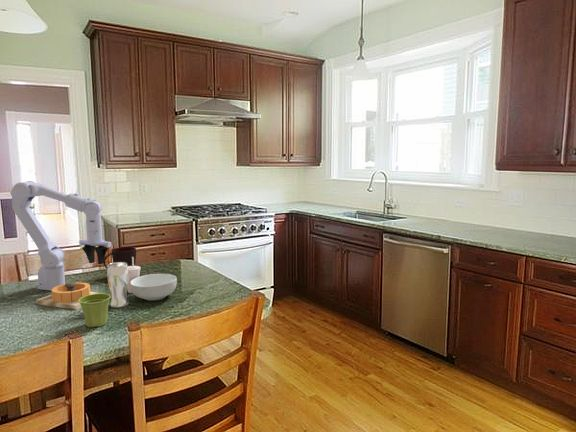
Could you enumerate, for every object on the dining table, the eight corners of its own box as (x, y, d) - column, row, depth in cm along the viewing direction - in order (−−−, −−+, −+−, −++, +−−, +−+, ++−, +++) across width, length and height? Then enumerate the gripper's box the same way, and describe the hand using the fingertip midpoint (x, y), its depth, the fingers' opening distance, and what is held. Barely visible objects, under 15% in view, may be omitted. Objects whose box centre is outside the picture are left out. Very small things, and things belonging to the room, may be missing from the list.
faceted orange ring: (44, 300, 155) (43, 290, 154) (71, 289, 167) (70, 281, 166) (72, 303, 151) (71, 294, 151) (97, 293, 163) (97, 284, 162)
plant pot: (73, 326, 135) (71, 300, 134) (97, 316, 144) (95, 291, 142) (95, 331, 131) (93, 304, 130) (118, 321, 140) (117, 295, 139)
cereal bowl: (153, 288, 174) (153, 271, 173) (186, 293, 167) (185, 276, 166) (121, 300, 159) (120, 282, 158) (155, 307, 152) (154, 288, 151)
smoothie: (136, 294, 166) (134, 259, 164) (121, 293, 167) (119, 258, 165) (144, 289, 172) (143, 255, 170) (130, 288, 173) (128, 254, 171)
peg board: (36, 303, 155) (35, 287, 154) (67, 292, 169) (66, 276, 168) (76, 309, 150) (74, 292, 149) (104, 297, 163) (103, 281, 162)
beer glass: (117, 309, 150) (115, 267, 148) (105, 305, 154) (102, 265, 152) (134, 303, 156) (131, 263, 154) (121, 300, 160) (119, 260, 157)
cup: (140, 275, 191) (139, 249, 189) (108, 281, 182) (106, 254, 181) (132, 271, 199) (131, 245, 197) (101, 276, 190) (99, 250, 188)
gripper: (115, 230, 176) (117, 262, 177) (87, 228, 180) (89, 259, 182) (103, 233, 169) (105, 266, 171) (74, 230, 173) (76, 263, 175)
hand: (96, 263), depth 176 cm, fingers open, 4 cm apart
